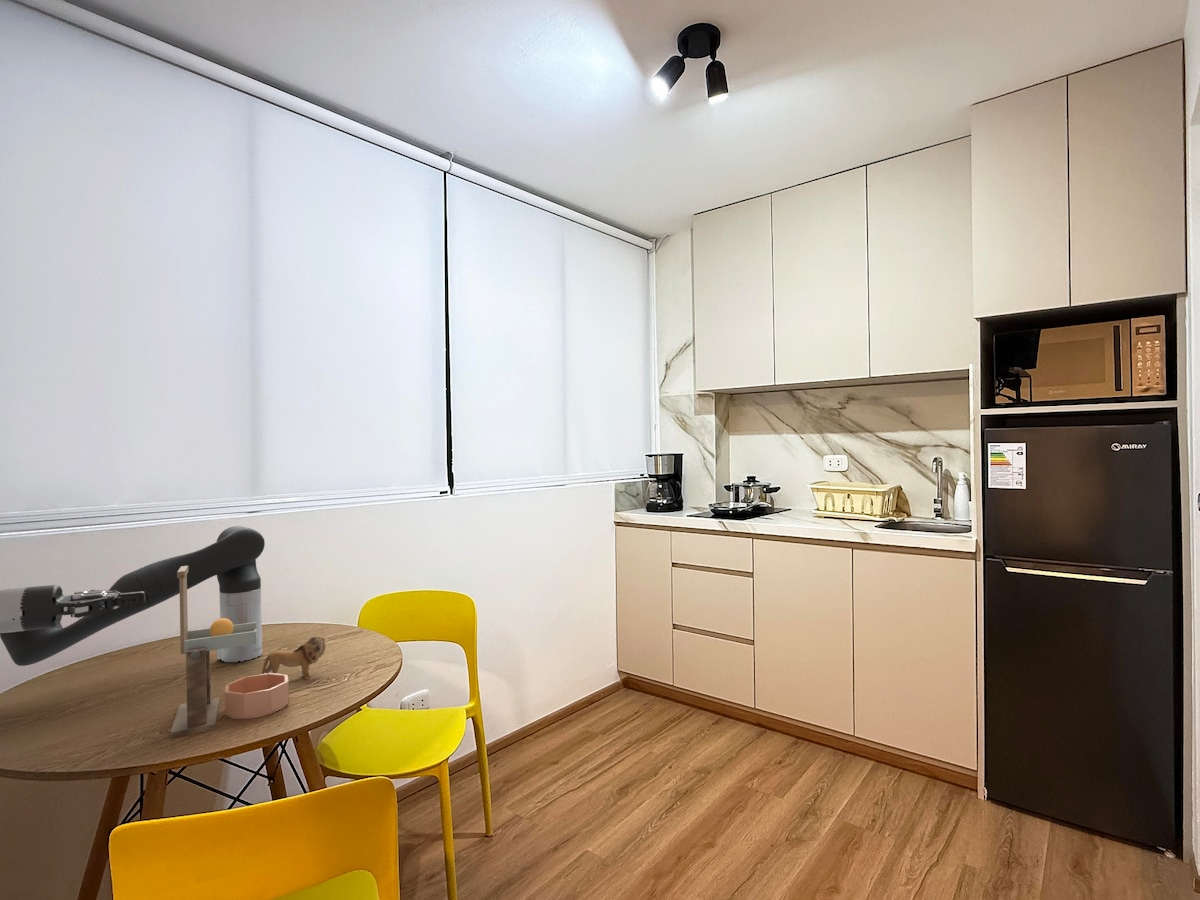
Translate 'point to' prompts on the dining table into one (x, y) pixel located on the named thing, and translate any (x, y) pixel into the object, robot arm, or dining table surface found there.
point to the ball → (221, 627)
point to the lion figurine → (297, 656)
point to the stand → (197, 697)
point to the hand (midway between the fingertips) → (144, 597)
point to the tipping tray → (203, 637)
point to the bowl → (256, 696)
